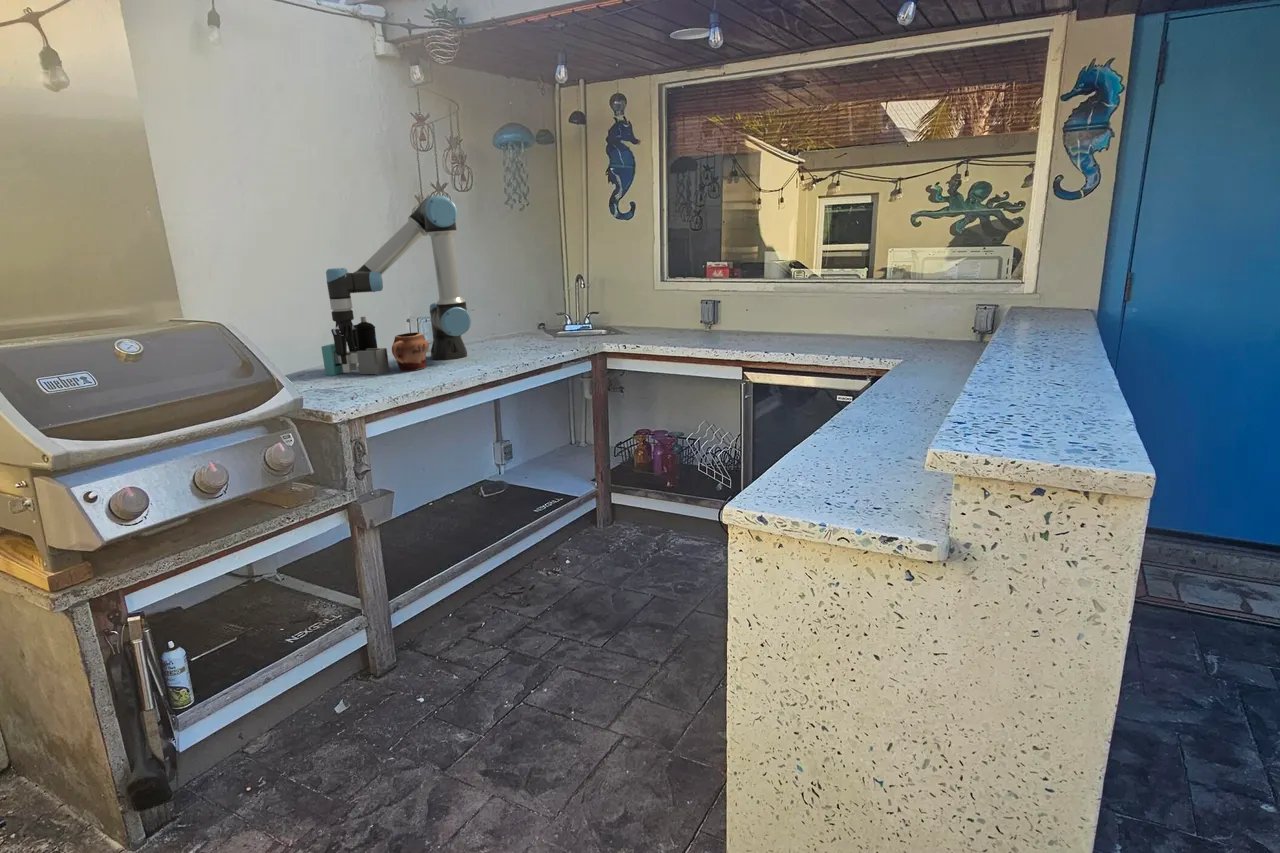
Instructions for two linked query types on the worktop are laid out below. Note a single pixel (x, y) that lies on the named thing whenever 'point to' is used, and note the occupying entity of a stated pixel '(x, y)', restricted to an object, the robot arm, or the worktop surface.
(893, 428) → the worktop surface
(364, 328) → the aerosol can
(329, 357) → the socket block
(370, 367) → the sleeve
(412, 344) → the decorative planter
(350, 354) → the grey square peg
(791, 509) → the worktop surface
